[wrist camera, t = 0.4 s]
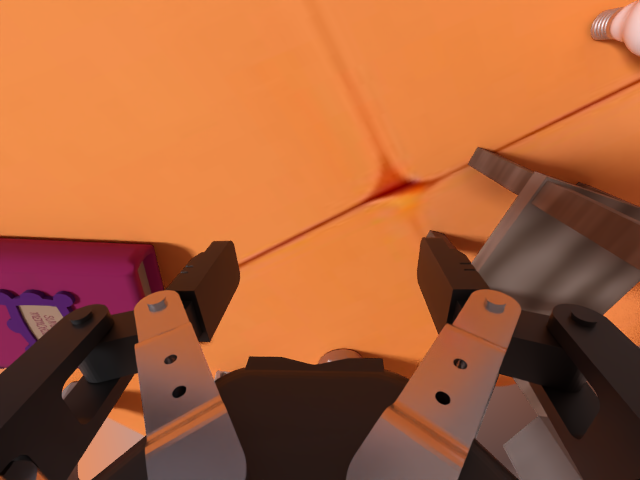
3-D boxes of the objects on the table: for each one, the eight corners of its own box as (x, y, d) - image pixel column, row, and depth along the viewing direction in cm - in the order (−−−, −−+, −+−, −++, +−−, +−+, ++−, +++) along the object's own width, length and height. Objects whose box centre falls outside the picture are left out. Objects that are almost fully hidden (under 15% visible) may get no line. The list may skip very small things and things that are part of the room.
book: (-55, 229, 41) (-122, 260, 35) (154, 238, 44) (128, 269, 37) (12, 333, 52) (-29, 372, 45) (177, 336, 54) (160, 373, 48)
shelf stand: (594, 185, 42) (1206, 441, 14) (524, 271, 50) (822, 551, 21) (476, 144, 38) (989, 383, 10) (420, 244, 46) (614, 543, 17)
